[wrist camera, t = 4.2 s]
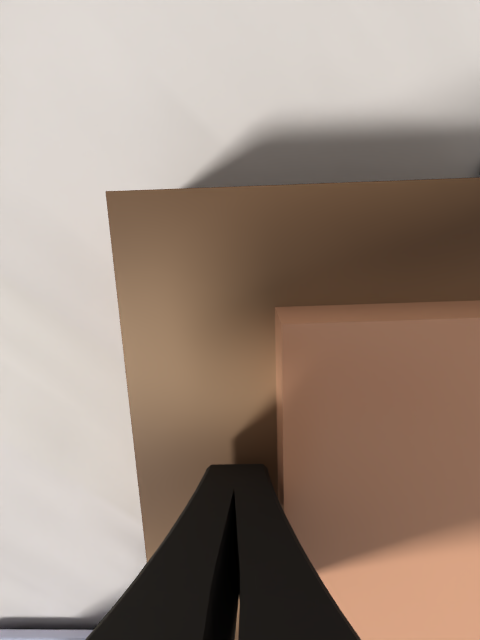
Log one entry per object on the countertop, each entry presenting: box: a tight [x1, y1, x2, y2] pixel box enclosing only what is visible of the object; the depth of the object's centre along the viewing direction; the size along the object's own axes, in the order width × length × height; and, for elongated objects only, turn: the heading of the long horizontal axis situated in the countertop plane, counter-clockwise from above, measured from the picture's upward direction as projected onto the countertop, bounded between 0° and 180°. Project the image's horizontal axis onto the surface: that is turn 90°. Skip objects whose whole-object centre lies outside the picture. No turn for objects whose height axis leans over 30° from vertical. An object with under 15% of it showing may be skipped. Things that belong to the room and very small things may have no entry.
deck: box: [106, 178, 480, 640], centre depth 11 cm, size 14×10×4 cm
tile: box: [275, 300, 480, 640], centre depth 8 cm, size 9×6×2 cm, turn 2°
